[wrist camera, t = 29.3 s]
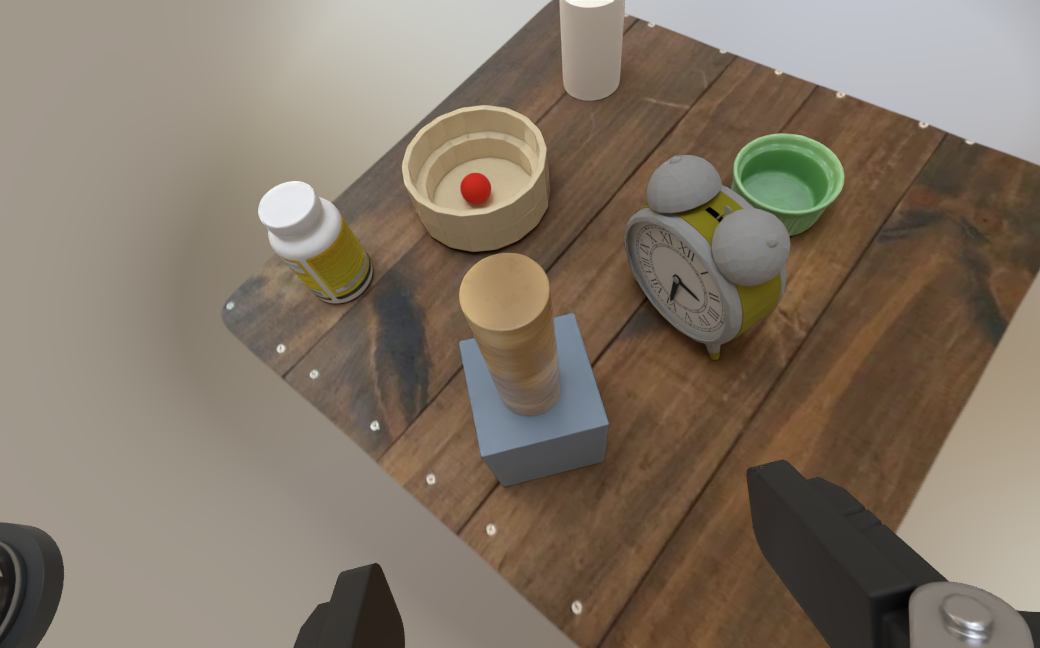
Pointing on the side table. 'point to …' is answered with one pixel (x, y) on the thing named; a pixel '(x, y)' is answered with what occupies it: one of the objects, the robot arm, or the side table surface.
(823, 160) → the ramekin
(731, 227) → the alarm clock
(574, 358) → the upright slate-blue block
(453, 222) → the bowl
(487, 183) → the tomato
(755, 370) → the side table surface
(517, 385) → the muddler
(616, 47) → the candle
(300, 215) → the pill bottle
